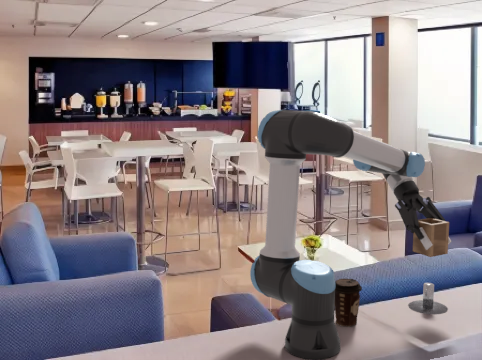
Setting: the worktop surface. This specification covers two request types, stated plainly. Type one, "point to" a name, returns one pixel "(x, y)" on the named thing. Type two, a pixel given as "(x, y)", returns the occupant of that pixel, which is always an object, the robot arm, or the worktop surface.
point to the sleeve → (433, 237)
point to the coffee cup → (347, 301)
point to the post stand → (428, 302)
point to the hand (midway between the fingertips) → (438, 245)
